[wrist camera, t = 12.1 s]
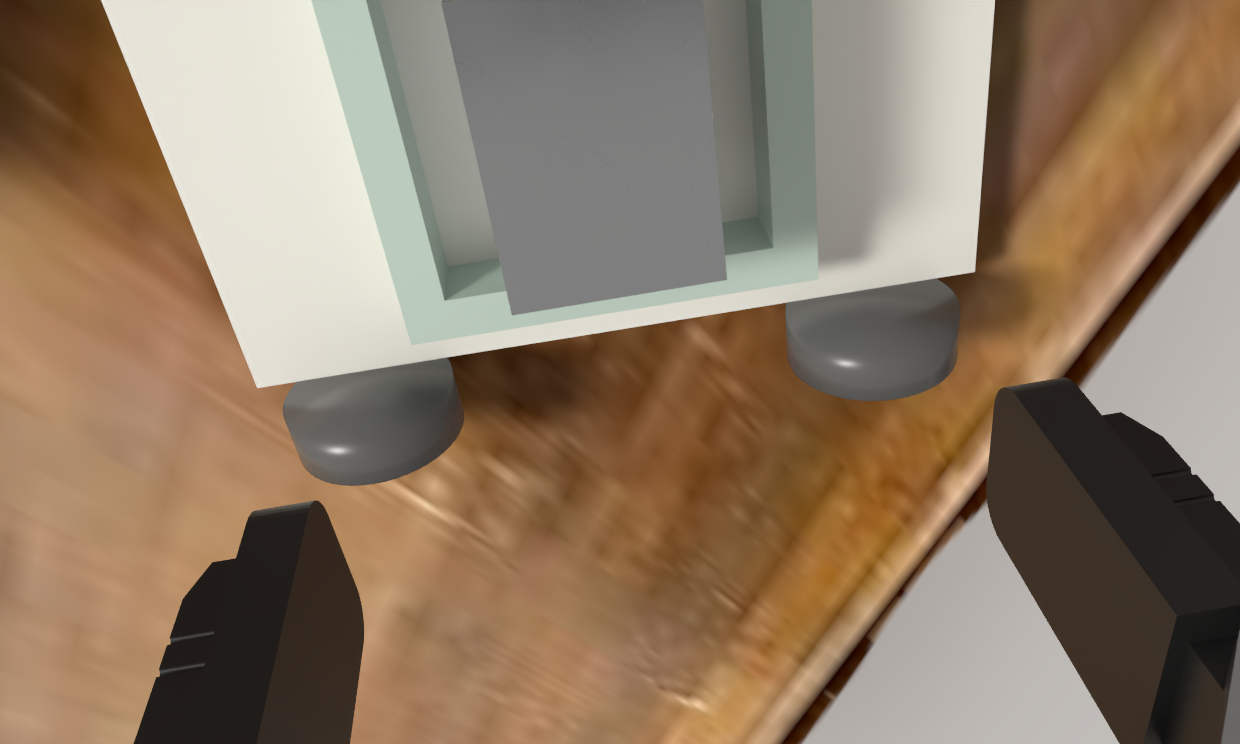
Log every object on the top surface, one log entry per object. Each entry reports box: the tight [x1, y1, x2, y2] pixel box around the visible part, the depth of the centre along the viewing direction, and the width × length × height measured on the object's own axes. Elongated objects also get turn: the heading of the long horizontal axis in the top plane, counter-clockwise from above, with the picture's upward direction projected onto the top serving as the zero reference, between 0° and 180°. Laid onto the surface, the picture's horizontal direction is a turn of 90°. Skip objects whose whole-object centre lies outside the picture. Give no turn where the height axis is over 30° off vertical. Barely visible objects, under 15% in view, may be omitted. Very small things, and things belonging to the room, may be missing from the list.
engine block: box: [441, 0, 727, 315], centre depth 24 cm, size 7×5×6 cm
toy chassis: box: [101, 0, 995, 486], centre depth 26 cm, size 19×22×5 cm
